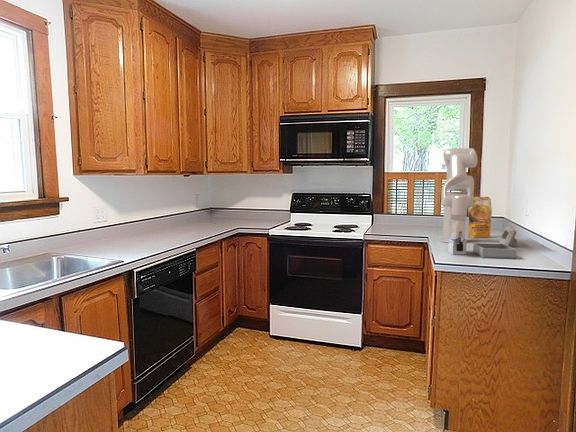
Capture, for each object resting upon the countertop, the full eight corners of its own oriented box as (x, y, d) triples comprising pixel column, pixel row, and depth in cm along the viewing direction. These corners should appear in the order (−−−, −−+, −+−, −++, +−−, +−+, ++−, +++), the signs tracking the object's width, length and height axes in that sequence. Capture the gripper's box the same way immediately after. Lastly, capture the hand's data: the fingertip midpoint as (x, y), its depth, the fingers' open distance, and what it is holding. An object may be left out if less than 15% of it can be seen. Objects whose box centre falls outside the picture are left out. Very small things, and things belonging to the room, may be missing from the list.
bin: (472, 252, 215) (473, 243, 215) (503, 252, 213) (504, 244, 212) (482, 258, 200) (482, 248, 199) (515, 259, 197) (516, 249, 197)
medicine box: (461, 253, 213) (462, 237, 212) (466, 254, 209) (467, 238, 208) (448, 253, 212) (448, 237, 211) (452, 255, 207) (453, 239, 207)
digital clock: (498, 242, 245) (499, 226, 244) (514, 243, 241) (515, 227, 240) (499, 247, 230) (501, 229, 229) (517, 248, 226) (518, 230, 225)
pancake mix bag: (462, 236, 267) (464, 196, 264) (488, 236, 270) (490, 196, 267) (468, 238, 261) (470, 197, 258) (494, 237, 263) (496, 196, 260)
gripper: (447, 216, 217) (446, 246, 219) (455, 219, 200) (454, 252, 202) (461, 216, 216) (460, 246, 218) (471, 220, 199) (469, 253, 201)
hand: (457, 249), depth 210 cm, fingers open, 9 cm apart
